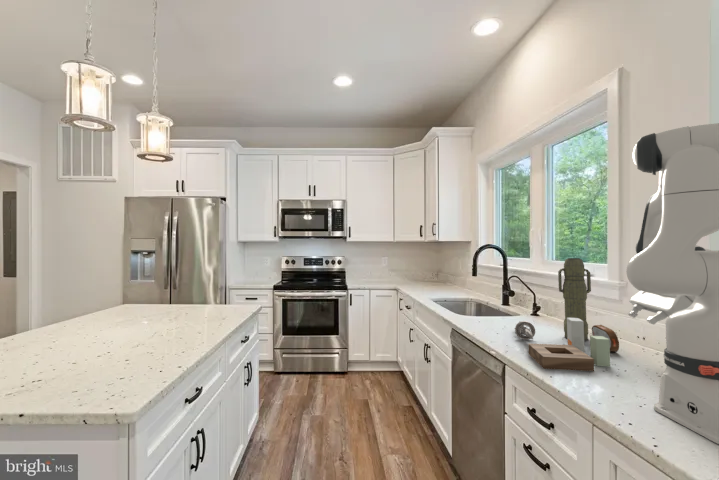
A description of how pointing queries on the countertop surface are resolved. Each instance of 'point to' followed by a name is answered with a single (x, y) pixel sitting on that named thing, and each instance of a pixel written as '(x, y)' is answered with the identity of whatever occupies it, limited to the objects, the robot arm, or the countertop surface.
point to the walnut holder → (560, 357)
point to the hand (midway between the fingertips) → (639, 319)
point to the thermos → (575, 291)
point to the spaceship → (525, 330)
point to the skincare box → (575, 333)
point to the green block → (600, 350)
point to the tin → (607, 336)
